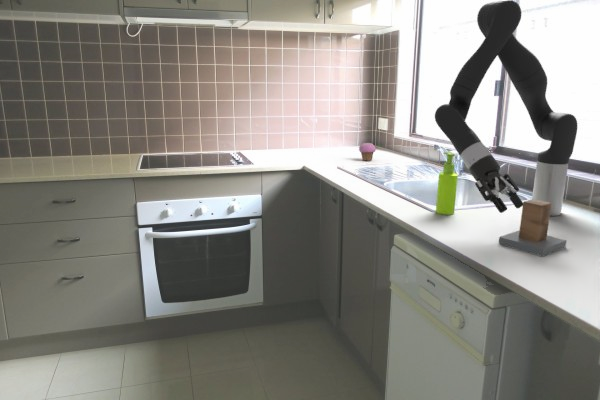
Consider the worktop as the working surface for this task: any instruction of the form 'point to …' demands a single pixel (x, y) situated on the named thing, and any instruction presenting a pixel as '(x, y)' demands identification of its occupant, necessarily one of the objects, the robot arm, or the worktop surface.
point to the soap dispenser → (447, 187)
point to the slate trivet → (532, 244)
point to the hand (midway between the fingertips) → (512, 208)
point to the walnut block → (534, 220)
